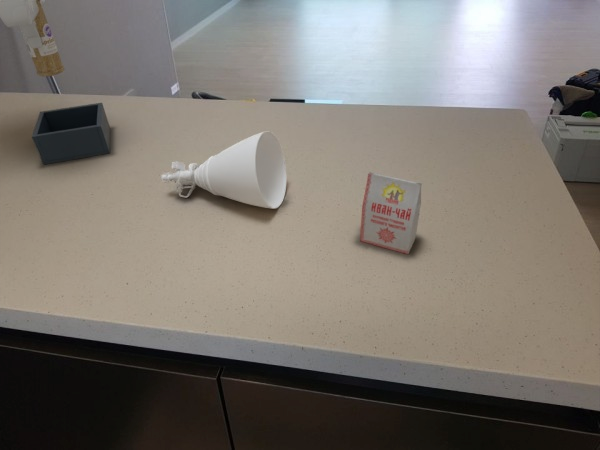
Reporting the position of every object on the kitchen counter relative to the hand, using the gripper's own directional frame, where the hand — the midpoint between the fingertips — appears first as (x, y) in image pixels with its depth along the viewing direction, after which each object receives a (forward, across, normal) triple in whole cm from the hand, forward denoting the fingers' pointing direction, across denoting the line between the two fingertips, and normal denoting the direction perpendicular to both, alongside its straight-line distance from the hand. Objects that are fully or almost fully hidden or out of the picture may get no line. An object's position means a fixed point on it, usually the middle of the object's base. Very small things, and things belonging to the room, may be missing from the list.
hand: (39, 42), depth 76 cm
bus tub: (+20, -1, 0) cm, 20 cm away
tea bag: (+20, +46, +43) cm, 66 cm away
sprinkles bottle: (+5, 0, 0) cm, 5 cm away
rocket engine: (+20, +26, +25) cm, 41 cm away
